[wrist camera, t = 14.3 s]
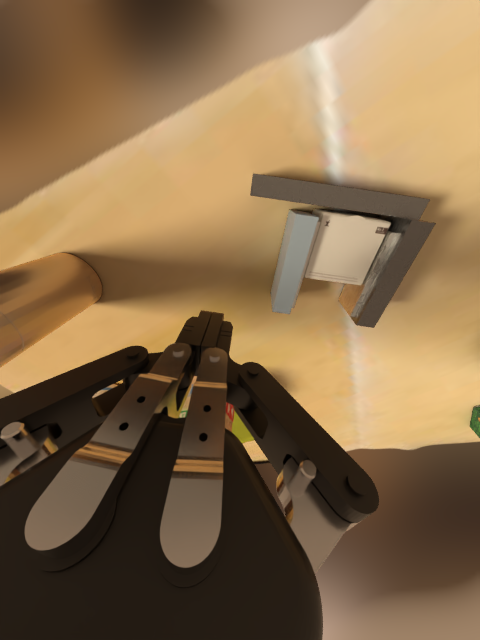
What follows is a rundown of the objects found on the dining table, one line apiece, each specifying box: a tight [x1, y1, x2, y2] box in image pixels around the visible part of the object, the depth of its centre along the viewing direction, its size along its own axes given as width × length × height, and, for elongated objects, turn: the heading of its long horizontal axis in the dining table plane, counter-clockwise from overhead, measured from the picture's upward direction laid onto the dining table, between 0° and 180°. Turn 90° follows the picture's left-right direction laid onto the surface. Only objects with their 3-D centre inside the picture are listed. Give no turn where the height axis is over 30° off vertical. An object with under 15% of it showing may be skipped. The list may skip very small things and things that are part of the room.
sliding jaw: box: [271, 209, 320, 314], centre depth 27 cm, size 3×12×6 cm, turn 173°
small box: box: [304, 209, 391, 285], centre depth 26 cm, size 8×8×5 cm
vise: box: [250, 174, 436, 328], centre depth 26 cm, size 19×15×7 cm
